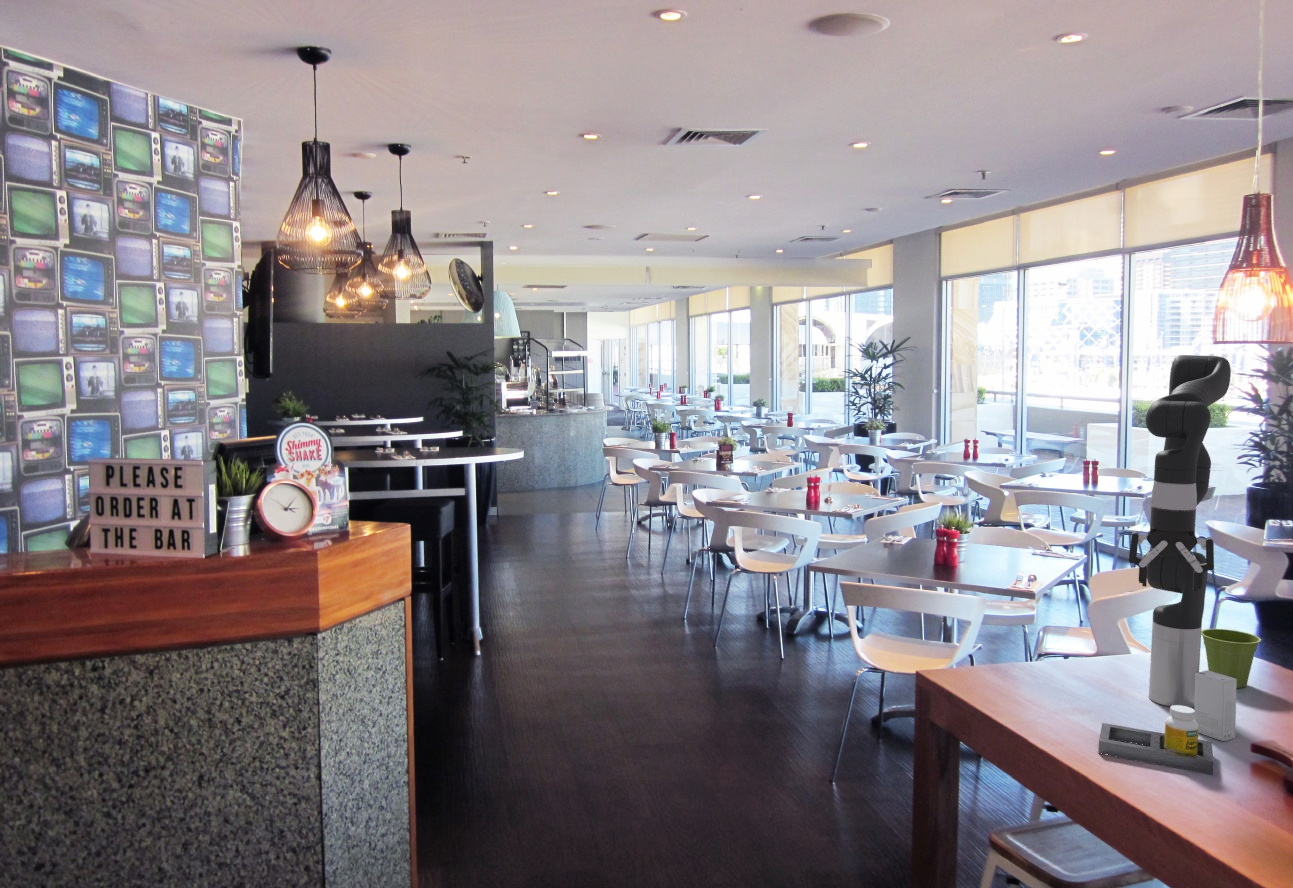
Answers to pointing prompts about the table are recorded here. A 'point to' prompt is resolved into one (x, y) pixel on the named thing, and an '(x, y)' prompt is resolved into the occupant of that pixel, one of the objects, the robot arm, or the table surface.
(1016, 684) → the table surface
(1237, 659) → the plant pot
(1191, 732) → the supplement bottle
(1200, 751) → the rail
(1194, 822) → the table surface
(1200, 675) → the skincare box
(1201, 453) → the robot arm
